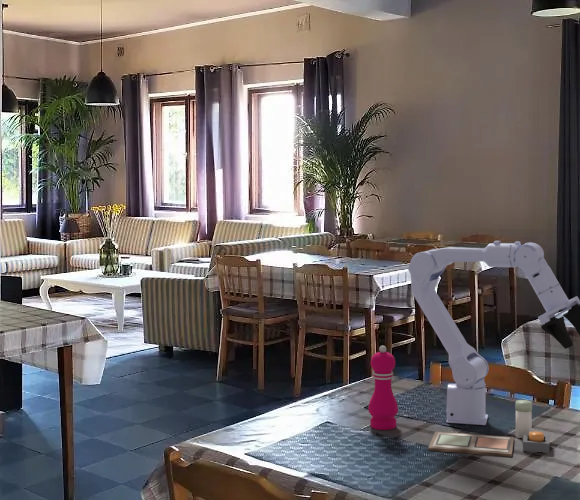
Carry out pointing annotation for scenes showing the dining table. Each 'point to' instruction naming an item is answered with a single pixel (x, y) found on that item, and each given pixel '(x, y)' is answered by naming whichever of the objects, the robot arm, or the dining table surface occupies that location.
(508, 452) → the picture board
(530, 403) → the white and green cylinder
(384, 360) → the pepper mill
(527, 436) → the button housing
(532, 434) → the button
